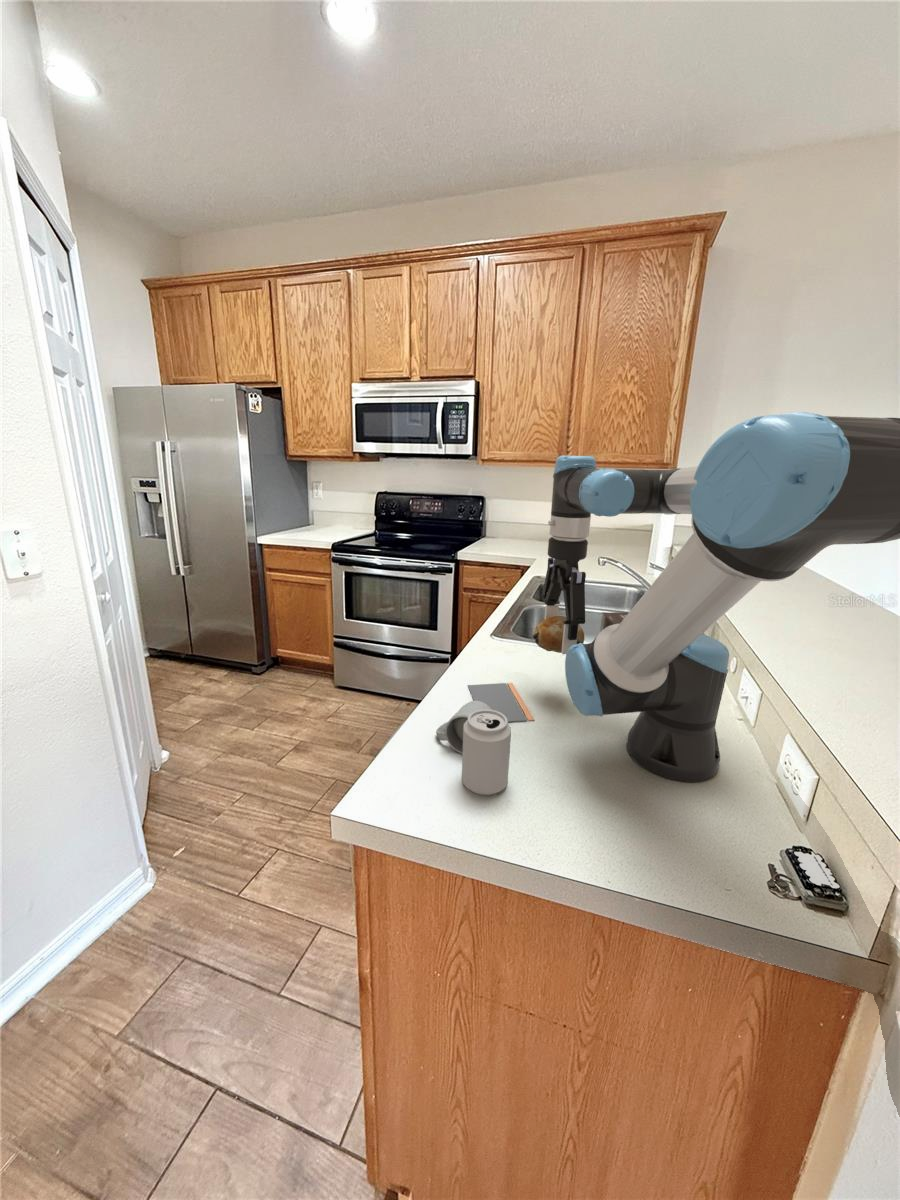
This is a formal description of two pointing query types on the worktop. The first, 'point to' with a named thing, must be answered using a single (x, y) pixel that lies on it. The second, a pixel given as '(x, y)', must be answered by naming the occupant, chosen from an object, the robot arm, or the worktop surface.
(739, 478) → the robot arm
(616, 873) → the worktop surface
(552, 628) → the bread roll
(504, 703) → the mat
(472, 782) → the can
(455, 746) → the ceramic mug
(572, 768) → the worktop surface
